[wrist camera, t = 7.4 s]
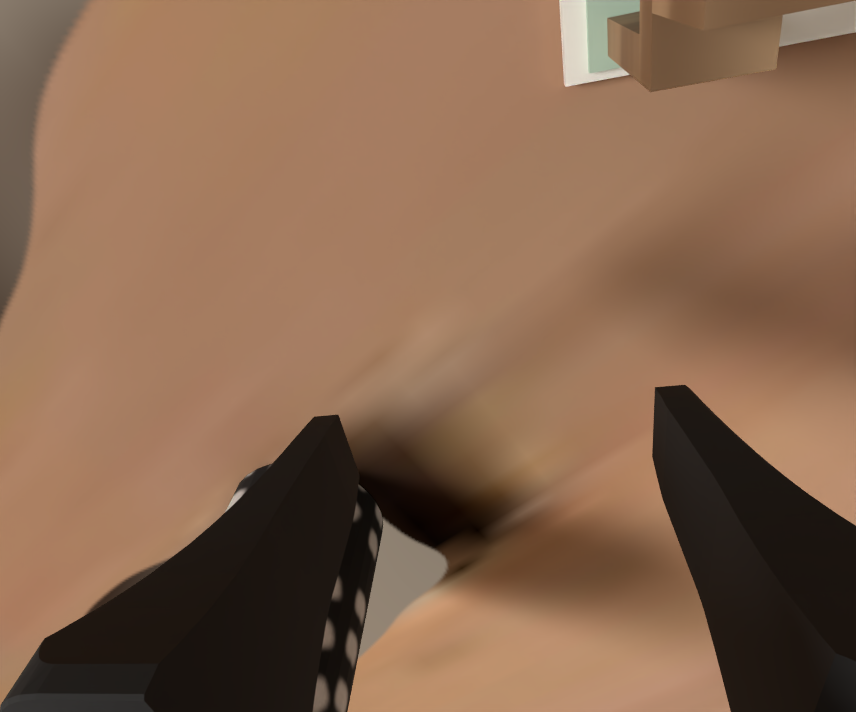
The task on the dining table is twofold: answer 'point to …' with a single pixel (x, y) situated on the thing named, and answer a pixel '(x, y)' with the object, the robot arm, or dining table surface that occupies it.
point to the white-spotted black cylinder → (343, 601)
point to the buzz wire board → (576, 72)
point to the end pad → (603, 30)
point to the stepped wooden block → (700, 39)
